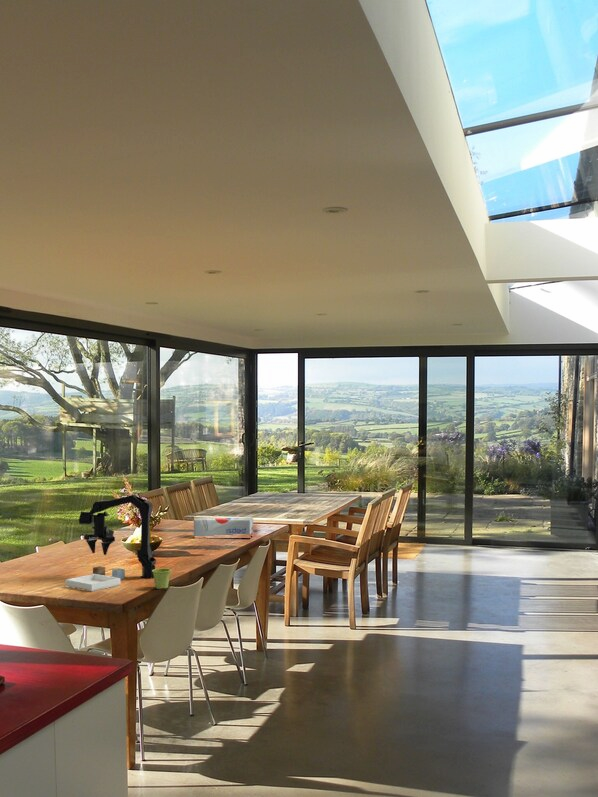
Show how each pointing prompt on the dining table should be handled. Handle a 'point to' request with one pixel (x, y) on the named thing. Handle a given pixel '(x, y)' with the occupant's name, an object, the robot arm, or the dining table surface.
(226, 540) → the dining table surface
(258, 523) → the dining table surface
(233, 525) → the soda pack
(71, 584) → the grey tray
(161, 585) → the plant pot
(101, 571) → the walnut block
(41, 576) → the dining table surface
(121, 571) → the slate block
